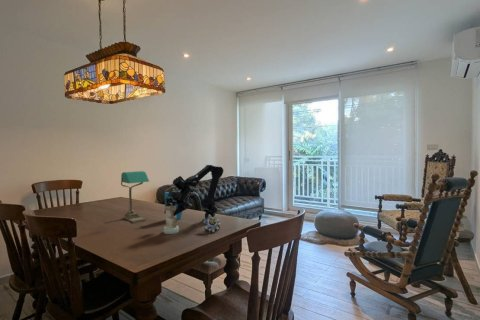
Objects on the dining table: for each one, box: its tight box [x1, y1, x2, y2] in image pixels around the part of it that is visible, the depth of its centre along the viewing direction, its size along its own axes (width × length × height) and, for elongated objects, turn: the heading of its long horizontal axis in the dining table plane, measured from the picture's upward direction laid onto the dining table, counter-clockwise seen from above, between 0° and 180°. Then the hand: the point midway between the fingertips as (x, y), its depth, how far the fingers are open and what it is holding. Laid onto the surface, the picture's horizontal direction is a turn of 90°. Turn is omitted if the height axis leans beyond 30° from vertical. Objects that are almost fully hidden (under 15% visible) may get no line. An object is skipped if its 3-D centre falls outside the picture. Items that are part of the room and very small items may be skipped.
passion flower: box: [201, 215, 222, 233], centre depth 168 cm, size 11×11×12 cm
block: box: [164, 190, 183, 220], centre depth 195 cm, size 12×5×20 cm, turn 124°
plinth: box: [163, 225, 180, 235], centre depth 166 cm, size 9×9×3 cm
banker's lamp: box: [120, 170, 150, 224], centre depth 196 cm, size 16×21×35 cm
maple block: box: [164, 205, 178, 229], centre depth 166 cm, size 5×5×13 cm
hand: (169, 214), depth 165 cm, fingers open, 9 cm apart
